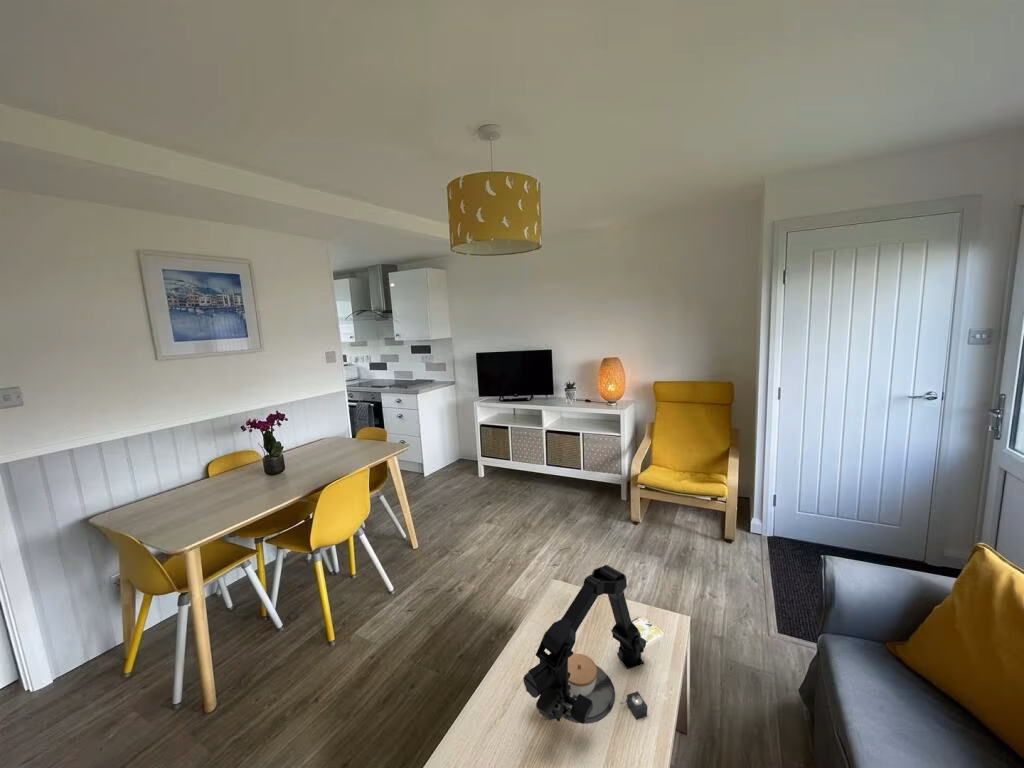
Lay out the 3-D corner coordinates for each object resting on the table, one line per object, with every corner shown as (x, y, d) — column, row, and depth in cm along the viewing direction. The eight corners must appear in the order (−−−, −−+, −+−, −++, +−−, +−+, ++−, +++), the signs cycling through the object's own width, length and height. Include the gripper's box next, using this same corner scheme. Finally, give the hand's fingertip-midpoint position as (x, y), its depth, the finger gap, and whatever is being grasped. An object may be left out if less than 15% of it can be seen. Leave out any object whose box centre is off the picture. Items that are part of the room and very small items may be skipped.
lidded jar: (596, 707, 127) (596, 681, 125) (560, 701, 129) (559, 676, 127) (597, 675, 137) (597, 651, 135) (564, 670, 140) (563, 646, 137)
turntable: (579, 651, 147) (579, 643, 146) (626, 692, 131) (626, 683, 130) (521, 692, 132) (521, 683, 132) (566, 744, 117) (566, 734, 116)
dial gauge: (637, 701, 129) (637, 690, 128) (647, 716, 124) (647, 705, 123) (618, 707, 127) (618, 696, 126) (627, 722, 122) (627, 712, 122)
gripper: (513, 678, 118) (515, 725, 121) (574, 713, 107) (575, 764, 110) (535, 651, 127) (536, 695, 130) (593, 681, 116) (593, 728, 119)
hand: (558, 719), depth 122 cm, fingers closed
